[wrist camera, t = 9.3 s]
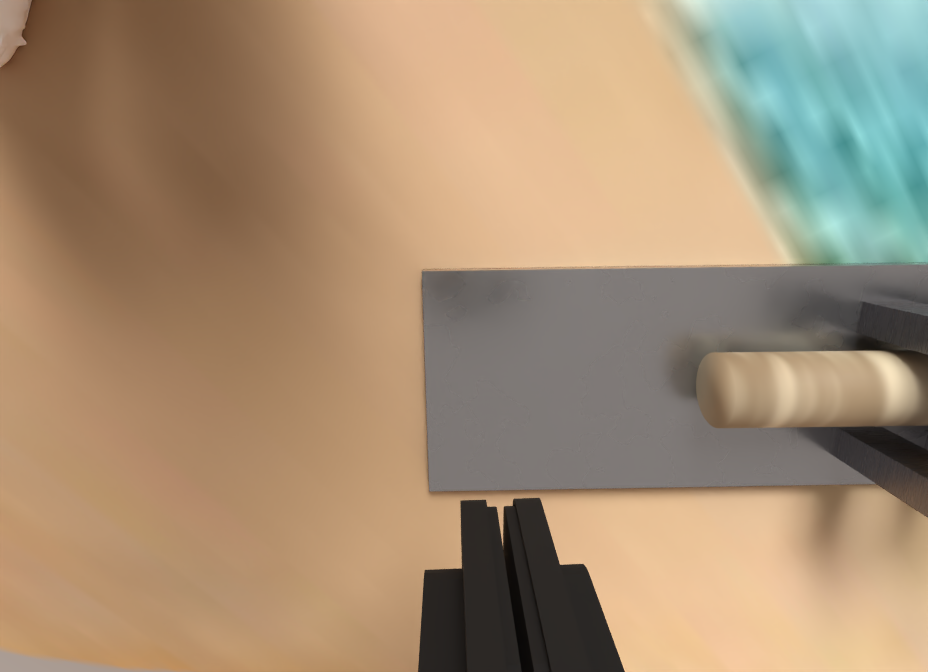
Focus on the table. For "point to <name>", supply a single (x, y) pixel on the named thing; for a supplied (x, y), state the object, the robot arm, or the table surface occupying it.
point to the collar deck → (653, 375)
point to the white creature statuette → (12, 26)
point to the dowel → (813, 389)
